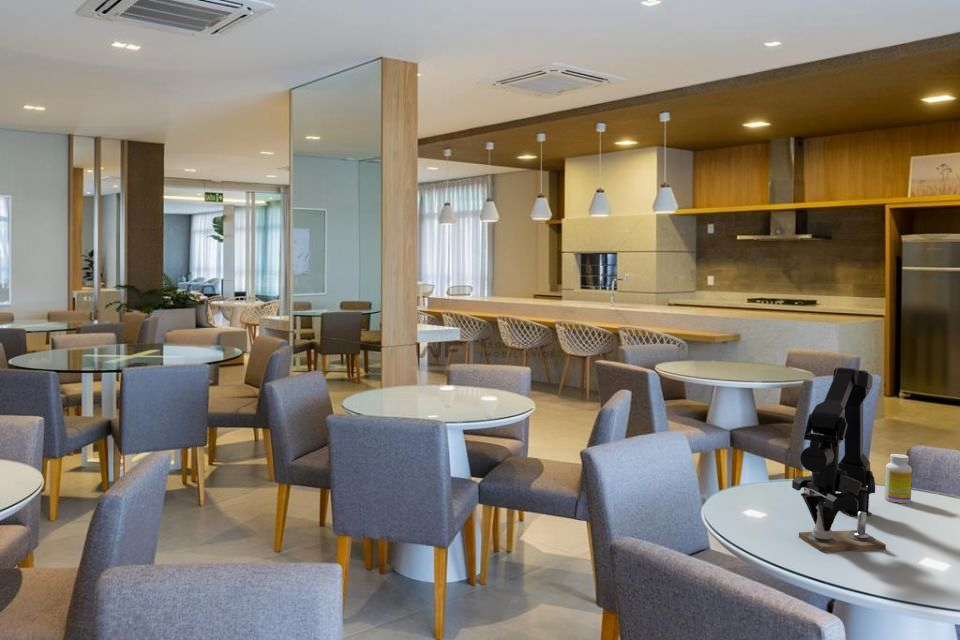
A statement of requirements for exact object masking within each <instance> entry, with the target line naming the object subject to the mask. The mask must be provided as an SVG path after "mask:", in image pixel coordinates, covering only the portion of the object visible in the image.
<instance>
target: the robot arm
mask: <svg viewBox="0 0 960 640" xmlns="http://www.w3.org/2000/svg"><path fill="white" fill-rule="evenodd" d="M873 378H874V377H873V375H872V374H871V373H869V372H868V370H864V369H863V370H862V369H855V368H854V367H853V368H852V367H851V368H850V367H841V366H839V367H836V368H835V369H834V370H833V375H832V381H831V384H830V386H829V388H828V391H827V393H826V396H825V398H824V400H823V401H822V402H821V403H818V404H816V405H815V406H814V408H813V409H812V412H811V413H809V414H808V415H809V416H808V418H807V422H806V427H805V431H804V436H803V440H804V441H805V440H806V441H810V442H809V446H807V447H806V448H805V449H803V450H802V451H801V454H800V458H799V459H800V463H801V465H802V467H803V468H804V469H805V470H807V471H809V472H810V473H811V476H810V475H809V476H805V475H804V476H803V475H802V476H795V477H794V478H793V479H792V482H791V484H792V485H791V488H792V489H794V490H796V491H797V492H798V491H801V490H802V488H803V492H802V493H800V496H801V497H802V499H803V501H804V503H805V505H806V507H807V509H808V511H809V513H810V515H811V518H812V521H813V522H814V526H815V525H816V522H817V512H818V510H817V508H816V506H817V505H818V508H819V512H820V516H821V520H822V524H823V528H824V530H825V531H830V529H831V528H832V526H833V523H834V521H835V519H836V516H838V515H837V514H838V513H839V512H842V513H843V514H846V515H848V516H851V517H853V516H855V517H858V512H859V511H862V512H866V516H872V515H873V513H872V512H870V511H869V507H870V504H869V503H870V495H871V494H875V493H876V480H875V476H874V474H873V471H872V470H871V462H870V460H869V459H868V458H867V456H866V455H865V453H864V400H865V399H866V398H867V397H868V395H869V394H870V393H871V392H870V391H871V390H872V386H873V382H874V381H873ZM842 441H844V445H843V446H844V455H843V457H841V459H839V458H840V444H842ZM819 502H821V503H819ZM823 502H824V503H823Z"/></svg>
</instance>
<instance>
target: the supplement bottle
mask: <svg viewBox="0 0 960 640" xmlns="http://www.w3.org/2000/svg"><path fill="white" fill-rule="evenodd" d="M889 456H890V457H889V461H890V462H888V463H887V464H886V465H885V473H884V474H885V475H884V476H885V479H884V499H885V500H886V501H888V502H892V503H895V502H898V503H897V504H908V503H907V502H909V503H910V502H911V501H912V485H913V484H912V482H913V477H912V476H913V468H912V466H910V465H909V464H908V463H909V461H910V457H909V456H908V455H906V454H901V453H891V454H890V455H889Z"/></svg>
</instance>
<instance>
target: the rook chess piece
mask: <svg viewBox="0 0 960 640" xmlns="http://www.w3.org/2000/svg"><path fill="white" fill-rule="evenodd" d="M819 503H821V502H819ZM823 503H825V502H823ZM816 508H817V510H818V512H817V522H816V525H815V524H814V527H813V528H812V532H813V533H812V535H813V536H814V537H815V538H818V539H822V540H829V539H831V538H832V535H831V534H832V531H833V530H832V529H831V528H830V531H825V530H824V528H823V524H822V520H821V516H820V512H819V508H818V505H817V506H816Z"/></svg>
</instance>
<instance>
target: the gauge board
mask: <svg viewBox="0 0 960 640" xmlns="http://www.w3.org/2000/svg"><path fill="white" fill-rule="evenodd" d="M854 532H857V529H856V530H832V534H831V535H832V538H831V539H829V540H822V539H818V538H815V537H814V536H813V535H812V533H813V531H803V532H802V531H801V532H798V538H799V539H801V540H803V541H804V542H806V543H807V544H809V545H810V546H811V547H813V548H814V549H816V550H818V551H820V552H821V553H829V552H856V551H857V552H858V551H875V550H876V551H878V550H881V551H882V550H886V548H887V547H886V546H887V544H886V543H884V542H883V541H880V540H879V539H877V538H875V537H874V536H872V535H870V534H868V535H869V536H868V539H858V538H855V537H854Z"/></svg>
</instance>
